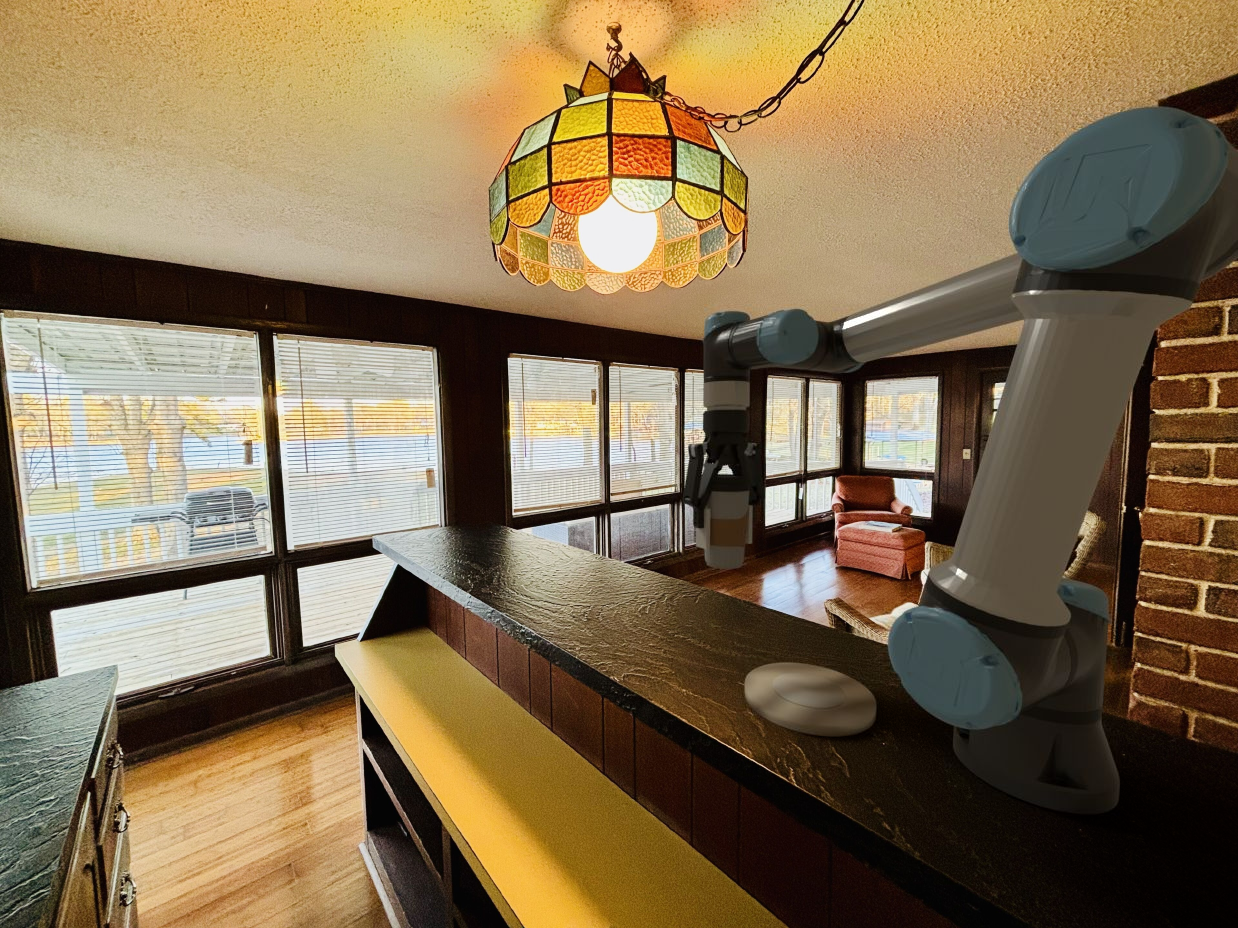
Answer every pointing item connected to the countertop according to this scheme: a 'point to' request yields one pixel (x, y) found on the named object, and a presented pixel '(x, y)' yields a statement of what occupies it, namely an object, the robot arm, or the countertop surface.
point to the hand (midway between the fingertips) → (724, 544)
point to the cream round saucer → (810, 699)
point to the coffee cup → (728, 521)
